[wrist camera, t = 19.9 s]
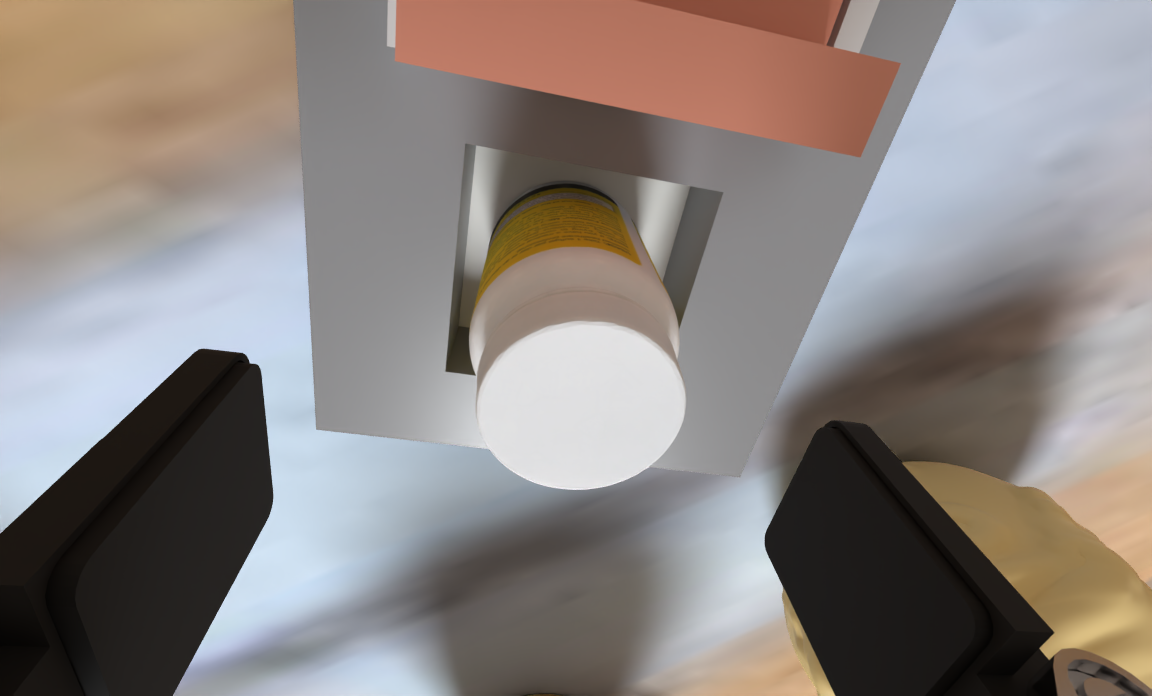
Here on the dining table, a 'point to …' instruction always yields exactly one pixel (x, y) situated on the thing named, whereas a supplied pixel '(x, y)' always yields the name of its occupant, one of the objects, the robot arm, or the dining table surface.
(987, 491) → the pale yellow round lump
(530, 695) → the plant pot
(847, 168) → the socket block
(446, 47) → the panel
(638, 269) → the supplement bottle
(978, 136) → the dining table surface
